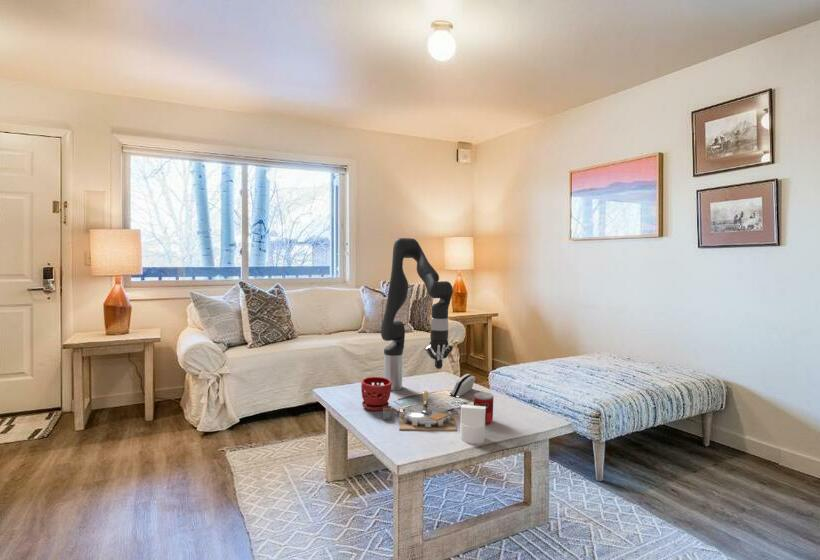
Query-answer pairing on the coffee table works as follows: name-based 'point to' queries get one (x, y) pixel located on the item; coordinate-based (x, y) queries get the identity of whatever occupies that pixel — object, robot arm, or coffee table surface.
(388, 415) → the grey rectangular block
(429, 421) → the sprocket
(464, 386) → the grey curved shell
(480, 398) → the canned food
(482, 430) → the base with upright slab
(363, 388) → the plant pot
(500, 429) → the coffee table surface
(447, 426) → the board
